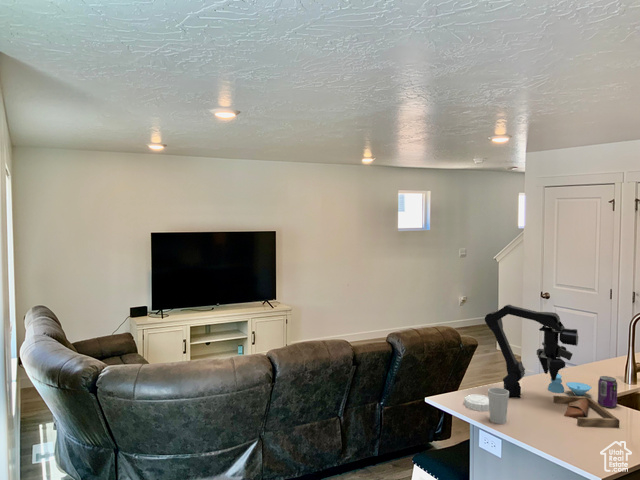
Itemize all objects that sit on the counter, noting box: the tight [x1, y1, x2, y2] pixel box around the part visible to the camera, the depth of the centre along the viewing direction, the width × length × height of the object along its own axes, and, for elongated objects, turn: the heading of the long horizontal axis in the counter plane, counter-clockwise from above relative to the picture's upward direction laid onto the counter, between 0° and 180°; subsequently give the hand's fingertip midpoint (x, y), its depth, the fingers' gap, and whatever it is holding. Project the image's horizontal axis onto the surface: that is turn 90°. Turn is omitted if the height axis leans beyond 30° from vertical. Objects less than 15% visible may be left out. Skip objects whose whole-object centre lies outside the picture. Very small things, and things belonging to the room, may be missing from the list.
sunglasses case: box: [563, 399, 590, 419], centre depth 199 cm, size 18×7×7 cm, turn 148°
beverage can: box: [597, 375, 618, 409], centre depth 206 cm, size 7×7×12 cm
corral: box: [552, 395, 620, 429], centre depth 196 cm, size 15×25×3 cm, turn 175°
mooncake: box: [463, 393, 489, 412], centre depth 205 cm, size 12×12×4 cm
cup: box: [487, 387, 510, 425], centre depth 189 cm, size 8×8×12 cm
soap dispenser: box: [547, 373, 592, 397], centre depth 220 cm, size 18×10×9 cm, turn 53°
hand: (549, 377), depth 207 cm, fingers open, 9 cm apart
